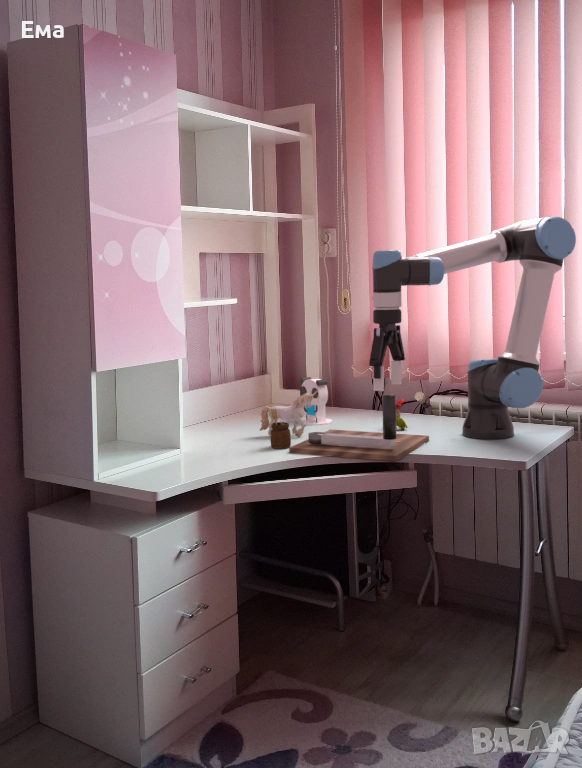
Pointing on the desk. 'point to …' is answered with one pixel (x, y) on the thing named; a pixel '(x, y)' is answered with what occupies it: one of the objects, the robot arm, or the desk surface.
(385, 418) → the lever
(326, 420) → the panda figurine
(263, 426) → the unicorn figurine
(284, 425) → the utensil holder
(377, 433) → the walnut board
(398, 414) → the bird rattle
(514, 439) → the desk surface
